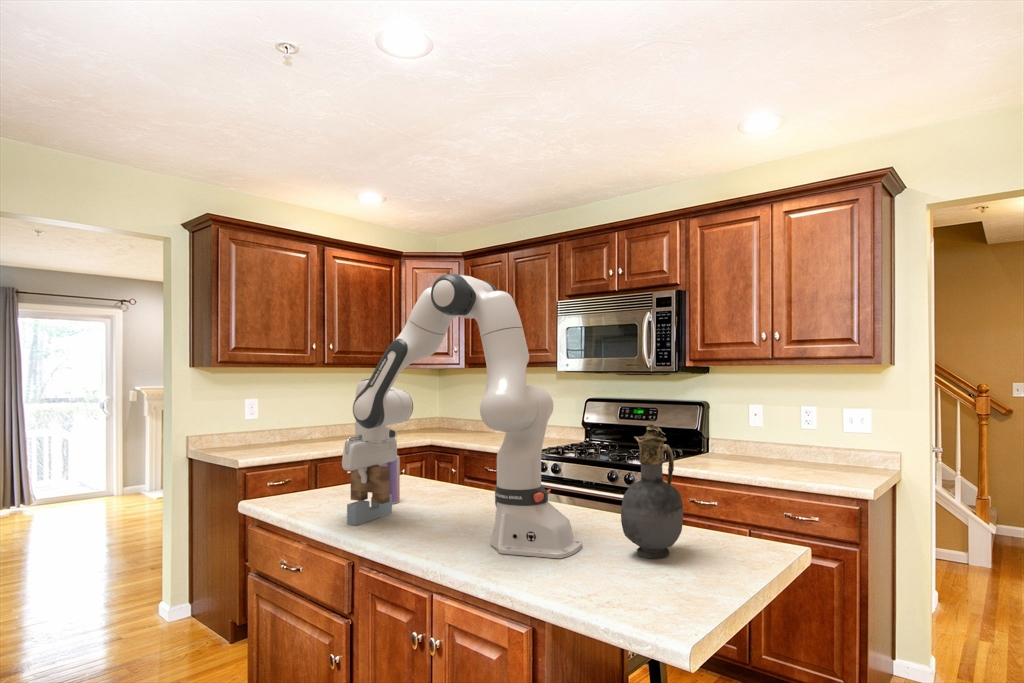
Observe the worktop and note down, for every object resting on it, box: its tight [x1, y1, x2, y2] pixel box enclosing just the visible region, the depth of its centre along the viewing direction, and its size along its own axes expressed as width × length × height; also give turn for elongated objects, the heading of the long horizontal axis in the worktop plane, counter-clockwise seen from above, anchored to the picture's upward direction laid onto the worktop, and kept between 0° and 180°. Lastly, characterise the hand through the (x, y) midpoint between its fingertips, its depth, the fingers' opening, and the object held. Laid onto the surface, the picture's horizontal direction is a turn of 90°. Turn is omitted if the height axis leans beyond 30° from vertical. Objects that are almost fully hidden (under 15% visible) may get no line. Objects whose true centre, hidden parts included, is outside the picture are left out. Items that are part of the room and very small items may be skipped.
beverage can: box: [382, 454, 401, 505], centre depth 194 cm, size 6×6×15 cm
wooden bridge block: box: [350, 466, 390, 504], centre depth 174 cm, size 12×3×10 cm, turn 63°
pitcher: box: [620, 423, 684, 560], centre depth 141 cm, size 11×19×30 cm, turn 141°
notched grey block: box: [346, 494, 393, 526], centre depth 174 cm, size 3×16×6 cm, turn 153°
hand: (370, 481), depth 174 cm, fingers closed on wooden bridge block, 3 cm apart
